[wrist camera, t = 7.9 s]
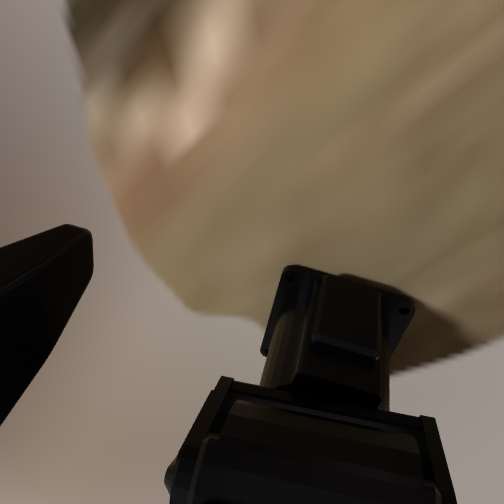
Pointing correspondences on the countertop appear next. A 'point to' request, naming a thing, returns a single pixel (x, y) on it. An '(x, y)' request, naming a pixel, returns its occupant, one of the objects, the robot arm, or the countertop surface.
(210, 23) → the countertop surface
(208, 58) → the countertop surface
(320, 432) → the robot arm
